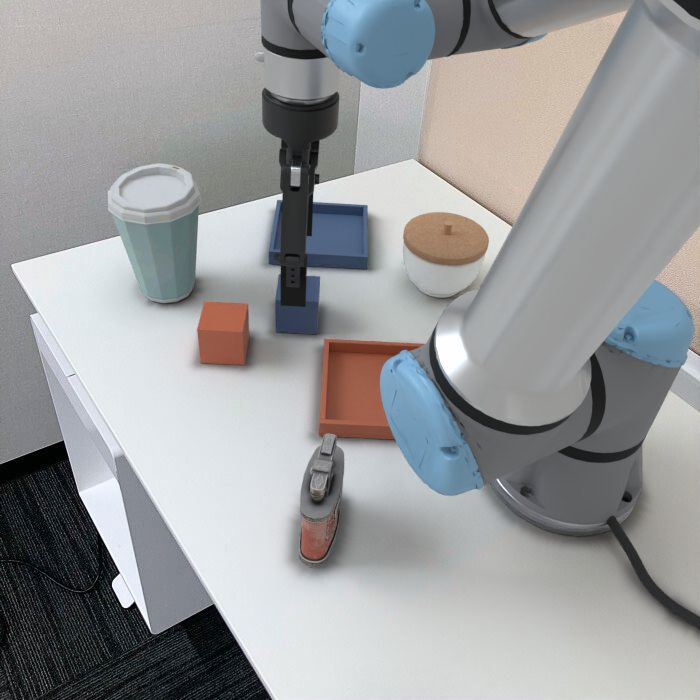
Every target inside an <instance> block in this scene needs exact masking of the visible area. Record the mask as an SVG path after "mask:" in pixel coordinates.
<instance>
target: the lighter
mask: <svg viewBox="0 0 700 700" xmlns="http://www.w3.org/2000/svg"><path fill="white" fill-rule="evenodd" d="M337 440H338V437H336V436H335V435H333V434H325V435H324V436H322V440H321V444H320V445H318V446H317V447H316V448H315V450H314V452H313V454H312V455H311V456H310V459H309V461H308V463H307V465H306V468H305V470H304V473H303V477H302V483H301V487H300V498H299V499H300V500H299V501H300V502H299V513H300V516H301V526H300V532H299V540H298V542H299V543H298V559H299V560H300V562H301V563H302V564H303V565H304V566H306V567H309V568H320V567H322V566H324V565H326V563H327V562H328V560H329V558H330V556H331V553H332V551H333V550H334V547H335V544H336V540H337V537H338V535H339V530H340V529H339V528H340V522H341V505H342V504H341V502H342V496H343V486H344V482H343V481H344V476H345V452H344V449H342V448H341V447H340V446H338V445H337Z"/></svg>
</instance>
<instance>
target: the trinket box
mask: <svg viewBox="0 0 700 700" xmlns="http://www.w3.org/2000/svg"><path fill="white" fill-rule="evenodd" d="M402 239H403V243H402V262H403V266H404V270H405V272H406V275H407V276H408V278H409V280H410V281H411V282H412V283H413V284H414V285H415V286H416V288H417V289H418V291H420V292H421V293H422V294H424V295H427V296H429V297H433V298H440V299H443V298H444V299H445V298H451V297H453V296H455V295H457V294H458V293H460V292H462V291H464V290H466V289H467V288H468V287H470V285H471V284H472V283H474V281H475V280H476V279H477V277H478V275H479V273H480V272H481V270H482V267H483V264H484V261H485V257H486V253H487V251H488V248H489V244H490V239H489V235H488V233H487V231H486V229H485V228H483V226H482V225H480V224H479V223H478V222H476V221H475V220H474V219H471V218H469V217H467V216H464V215H461V214H457V213H452V212H445V211H433V212H426V213H422V214H419V215H416V216H415V217H412V218H411V219H410V220H409V221H408V222H407V223H406V224H405V226H404V228H403V237H402Z"/></svg>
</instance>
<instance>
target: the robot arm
mask: <svg viewBox="0 0 700 700" xmlns="http://www.w3.org/2000/svg"><path fill="white" fill-rule="evenodd" d="M623 12H626V13H625V15H624V17H623V18H622V20H621V22H620V24H619V26H618V27H617V30H616V31H615V34H614V35H613V37H612V39H611V41H610V43H609V45H608V46H607V48H606V50H605V52H604V53H603V55H602V58H601V60H600V61H599V63H598V65H597V67H596V69H595V71H594V73H593V75H592V76H591V78H590V80H589V82H588V84H587V85H586V87H585V89H584V92H583V93H582V95H581V97H580V99H579V101H578V102H577V104H576V105H575V108H574V110H573V112H572V114H571V116H570V117H569V119H568V121H567V123H566V125H565V127H564V129H563V131H562V132H561V135H560V136H559V138H558V140H557V142H556V144H555V146H554V148H553V150H552V151H551V153H550V154H549V157H548V159H547V161H546V163H545V164H544V166H543V169H542V170H541V172H540V174H539V176H538V178H537V180H536V181H535V182H534V185H533V187H532V189H531V191H530V193H529V195H528V196H527V198H526V201H525V202H524V204H523V206H522V208H521V209H520V212H519V213H518V215H517V217H516V219H515V221H514V223H513V225H512V226H511V228H510V230H509V232H508V234H507V236H506V238H505V239H504V242H503V244H502V245H501V247H500V249H499V251H498V253H497V254H496V257H495V259H494V260H493V262H492V264H491V265H490V268H489V270H488V272H487V273H486V275H485V277H484V279H483V281H482V283H481V285H480V287H479V288H475V289H472V290H469V291H467V292H464V293H463V294H461V295H459V296H458V297H455V298H454V299H453V300H452V301H451V302H450V303H449V304H448V305H447V306H446V308H445V309H444V310H443V311H442V312H441V314H440V316H439V318H438V320H437V323H436V324H435V326H434V328H433V330H432V332H431V334H430V337H429V338H428V340H427V341H426V342H425V343H423V344H424V345H423V346H421V347H419V348H417V349H414V350H411V351H408V350H403V351H401V352H400V354H398V355H396V356H394V357H392V358H390V359H389V360H387V361H386V363H385V364H384V366H383V368H382V370H381V375H380V392H381V398H382V403H383V407H384V411H385V414H386V417H387V420H388V423H389V426H390V428H391V431H392V433H393V436H394V438H395V439H394V440H395V442H396V444H397V446H398V448H399V450H400V452H401V454H402V455H403V457H404V459H405V461H406V462H407V464H408V465H409V467H410V468H411V470H412V471H413V472H414V473H415V475H416V476H417V477H418V478H419V480H420V481H422V482H423V484H425V485H427V487H428V488H429V489H430V490H432V491H434V492H435V493H437V494H439V495H442V496H447V497H454V496H455V497H456V496H459V495H461V494H465V493H468V492H471V491H474V490H477V491H478V490H481V489H483V488H484V487H485V486H486V485H487V484H490V486H491V488H492V489H493V491H494V492H495V494H496V495H497V496H498V498H499V500H501V501H502V503H503V504H504V505H505V506H507V508H508V509H510V510H511V511H512V512H513V513H514V514H516V515H517V516H519V517H520V518H521V519H523V520H525V521H526V522H528V523H529V524H532V525H534V526H536V527H538V528H541V529H543V530H546V531H549V532H551V533H556V534H559V535H564V536H565V535H566V536H575V537H578V536H579V537H585V536H586V537H587V536H593V535H599V534H604V533H606V532H608V531H611V532H612V534H613V536H614V537H615V539H616V541H617V542H618V543H619V545H620V547H621V548H622V550H623V551H624V553H625V555H626V558H628V560H629V562H630V564H631V566H632V568H633V570H634V572H635V574H636V576H637V578H638V579H639V581H640V582H641V584H642V586H643V587H644V588H645V590H647V592H648V593H649V594H650V595H651V596H652V597H653V598H654V599H655V600H656V601H657V602H658V603H660V604H661V605H662V606H663V607H664V608H666V609H667V610H668V611H669V612H671V613H672V614H674V615H676V616H677V617H679V618H680V619H681V620H684V622H686V623H688V624H690V625H691V626H693V627H695V628H697V629H699V630H700V616H699V615H698V614H696V613H695V612H692V611H691V610H689V609H688V608H686V607H685V606H684V605H682V604H680V603H678V602H677V601H675V600H674V599H673V598H671V597H670V596H669V595H668V594H667V593H665V591H664V590H663V589H662V588H661V587H659V586H658V585H657V584H656V582H655V581H654V579H653V578H652V577H651V576H650V573H648V570H647V569H646V567H645V564H644V563H643V561H642V559H641V557H640V555H639V553H638V552H637V549H636V548H635V547H634V545H633V543H632V541H631V540H630V538H629V537H628V535H627V533H626V531H624V529H623V527H622V525H621V524H622V523H624V522H625V521H626V519H628V517H629V516H630V515H631V513H632V511H633V510H634V508H635V506H636V504H637V502H638V500H639V498H640V495H641V493H642V488H643V444H644V441H645V439H646V437H647V436H648V433H649V432H650V429H651V428H652V426H653V424H654V422H655V419H656V418H657V416H658V414H659V411H660V410H661V408H662V406H663V403H664V402H665V400H666V398H667V396H668V394H669V392H670V390H671V389H672V386H673V384H674V382H675V381H676V379H677V376H678V374H679V372H680V371H681V368H682V366H684V365H685V364H686V362H687V359H688V352H689V349H690V347H691V344H692V342H693V340H694V337H695V329H696V327H695V324H694V319H693V316H692V312H691V311H690V309H689V307H688V306H687V305H686V303H685V302H684V301H683V300H682V299H681V297H679V295H678V294H676V292H674V291H673V290H671V289H670V288H669V287H668V286H666V285H664V284H663V283H661V282H660V281H658V280H656V279H657V278H658V277H659V276H660V274H662V272H663V271H664V270H665V269H666V268H667V266H668V265H669V264H670V262H671V261H672V260H673V259H674V258H675V256H676V255H677V254H678V253H679V252H680V251H681V250H682V248H683V247H684V246H685V244H686V243H687V242H688V241H689V240H690V239H691V238H692V237H693V235H694V233H696V232H697V230H698V229H699V228H700V0H260V31H261V33H260V35H261V38H260V39H261V40H260V41H261V50H256V51H255V54H254V59H255V60H256V61H257V62H261V63H262V66H261V81H262V82H261V83H262V85H263V87H264V88H262V91H261V116H262V117H261V122H262V126H263V128H264V129H265V130H266V131H267V133H269V134H270V135H272V136H273V137H275V138H279V139H280V148H279V152H278V163H279V166H280V181H279V189H280V191H281V194H282V195H281V196H282V199H281V200H282V221H281V247H280V254H274V260H279V264H278V265H279V266H280V274H281V306H297V307H305V306H306V280H307V276H308V272H307V271H308V266H307V254H306V239H307V236H312V219H313V202H314V192H315V185H319V184H320V173H316V170H318V166H319V155H320V144H321V143H320V141H322V140H325V139H327V138H329V137H330V136H332V135H333V134H334V133H335V132H336V131H337V129H338V125H339V112H340V110H339V109H340V93H339V90H340V88H341V87H342V73H346V74H347V75H348V76H349V77H354V78H355V79H357V80H359V81H360V82H361V83H363V84H364V85H366V86H368V87H370V88H375V89H381V90H382V89H383V90H386V89H392V88H396V87H399V86H401V85H403V84H404V83H405V82H406V81H407V80H409V79H410V78H411V77H413V76H416V75H417V74H418V73H419V72H420V71H421V70H422V69H423V67H424V66H425V64H426V63H427V61H430V60H436V59H443V58H448V57H451V56H457V55H464V54H471V53H478V52H485V51H493V50H499V49H500V50H507V49H513V48H517V47H522V46H525V45H527V44H529V43H535V42H537V41H540V40H542V39H543V38H544V37H546V36H547V35H548V34H550V33H553V32H556V31H560V30H564V29H567V28H571V27H574V26H578V25H582V24H585V23H588V22H592V21H595V20H599V19H602V18H603V19H604V18H606V17H610V16H613V15H616V14H619V13H623Z"/></svg>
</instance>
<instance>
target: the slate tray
mask: <svg viewBox="0 0 700 700" xmlns="http://www.w3.org/2000/svg"><path fill="white" fill-rule="evenodd" d="M368 206H369V205H368V204H356V203H355V204H354V203H340V202H335V203H334V202H321V201H320V202H319V201H313V219H312V236H307V239H306V254H307V267H319V268H320V267H321V268H340V269H342V268H343V269H357V270H358V269H359V270H368V263H369V216H368V215H369V213H368V212H369V211H368V210H369V208H368ZM281 221H282V199H277V200H276V205H275V211H274V217H273V223H272V229H271V235H270V239H269V240H270V241H269V247H268V265H280V264H279V260H274V254H280V247H281Z"/></svg>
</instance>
